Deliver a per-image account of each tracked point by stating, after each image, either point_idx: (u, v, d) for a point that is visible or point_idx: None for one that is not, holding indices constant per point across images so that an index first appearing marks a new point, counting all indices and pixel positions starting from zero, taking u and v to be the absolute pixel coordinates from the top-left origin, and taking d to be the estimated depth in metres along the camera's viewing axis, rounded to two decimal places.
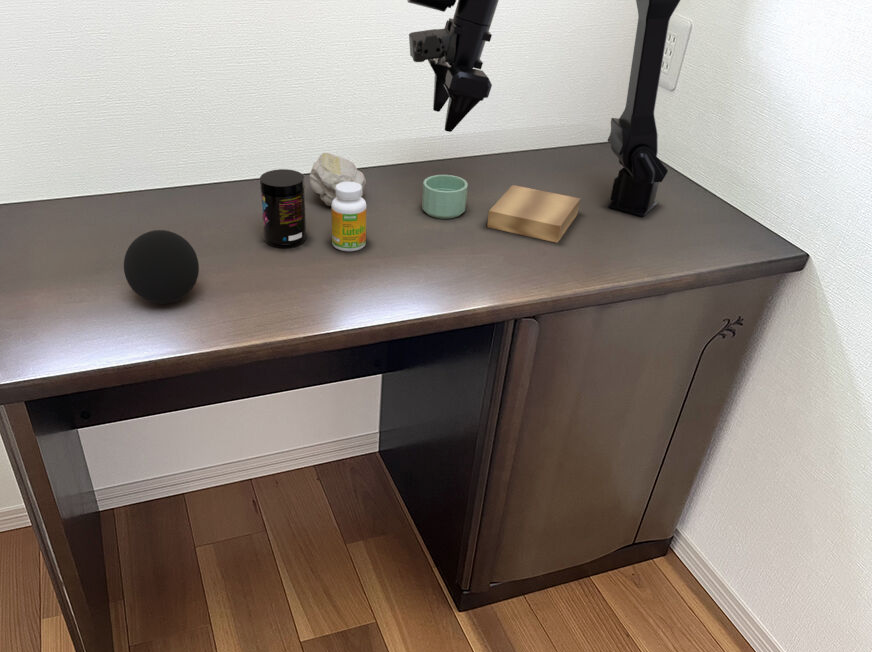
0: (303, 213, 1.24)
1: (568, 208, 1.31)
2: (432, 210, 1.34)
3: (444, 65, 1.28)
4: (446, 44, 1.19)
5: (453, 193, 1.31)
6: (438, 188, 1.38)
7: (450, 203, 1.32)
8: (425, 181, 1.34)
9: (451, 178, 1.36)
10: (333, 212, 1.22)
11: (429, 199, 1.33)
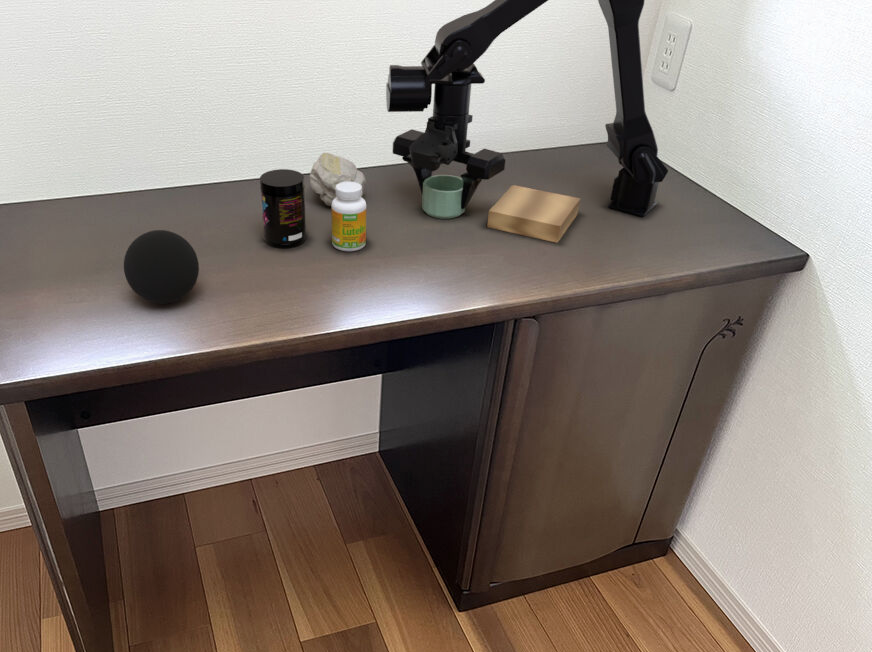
0: (303, 213, 1.24)
1: (568, 208, 1.31)
2: (432, 210, 1.34)
3: None
4: None
5: (453, 193, 1.31)
6: (438, 188, 1.38)
7: (450, 203, 1.32)
8: (425, 181, 1.34)
9: (451, 178, 1.36)
10: (333, 212, 1.22)
11: (429, 199, 1.33)
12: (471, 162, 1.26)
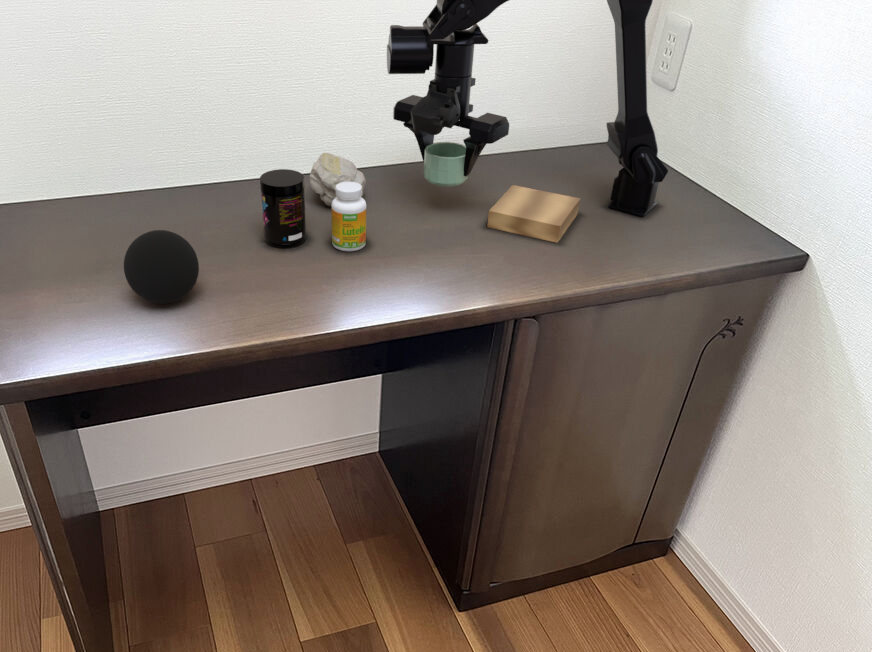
0: (303, 213, 1.24)
1: (568, 208, 1.31)
2: (434, 177, 1.30)
3: None
4: None
5: (455, 159, 1.28)
6: (440, 156, 1.34)
7: (452, 170, 1.29)
8: (427, 148, 1.31)
9: (454, 145, 1.33)
10: (333, 212, 1.22)
11: (431, 166, 1.30)
12: (474, 126, 1.22)
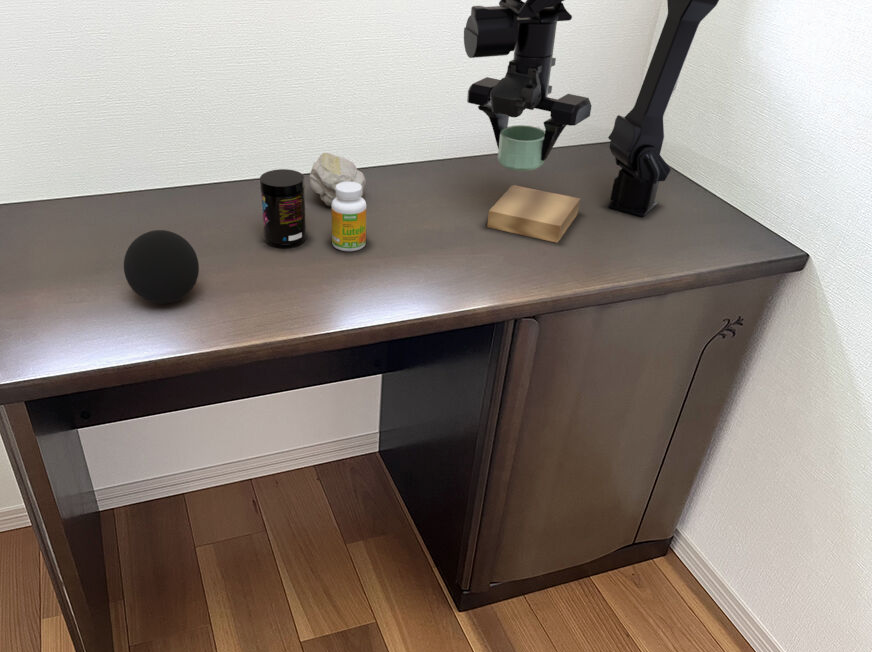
0: (303, 213, 1.24)
1: (568, 208, 1.31)
2: (510, 162, 1.26)
3: None
4: None
5: (534, 143, 1.23)
6: (514, 140, 1.30)
7: (530, 154, 1.24)
8: (502, 131, 1.27)
9: (529, 128, 1.29)
10: (333, 212, 1.22)
11: (507, 150, 1.25)
12: (556, 107, 1.18)
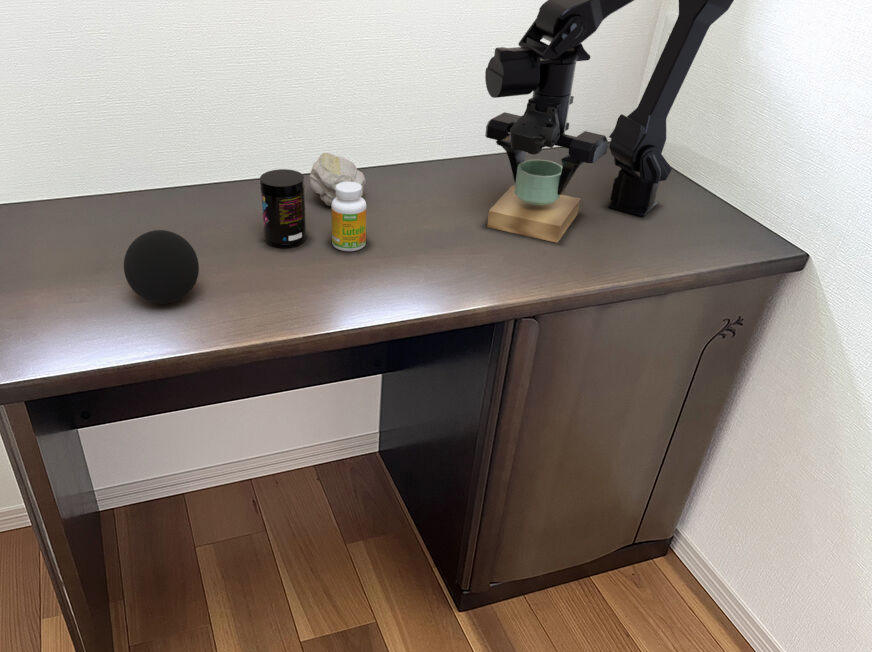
0: (303, 213, 1.24)
1: (568, 208, 1.31)
2: (527, 196, 1.28)
3: None
4: None
5: (551, 178, 1.26)
6: (531, 173, 1.32)
7: (547, 188, 1.27)
8: (519, 166, 1.29)
9: (545, 163, 1.31)
10: (333, 212, 1.22)
11: (525, 184, 1.28)
12: (574, 145, 1.20)
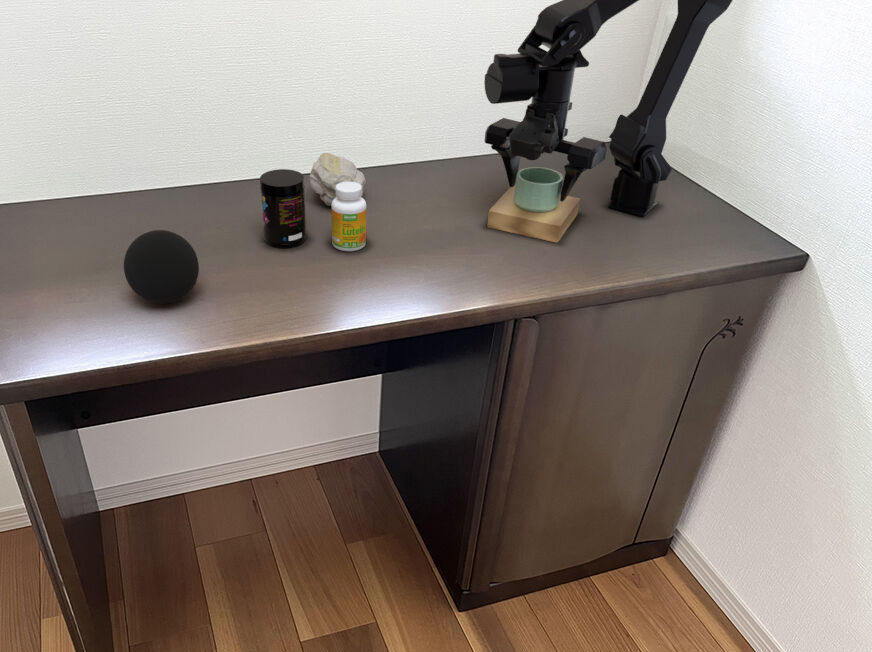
0: (303, 213, 1.24)
1: (568, 208, 1.31)
2: (526, 203, 1.29)
3: None
4: None
5: (550, 186, 1.27)
6: (530, 181, 1.33)
7: (546, 196, 1.28)
8: (518, 173, 1.30)
9: (544, 170, 1.32)
10: (333, 212, 1.22)
11: (524, 192, 1.28)
12: (573, 151, 1.21)
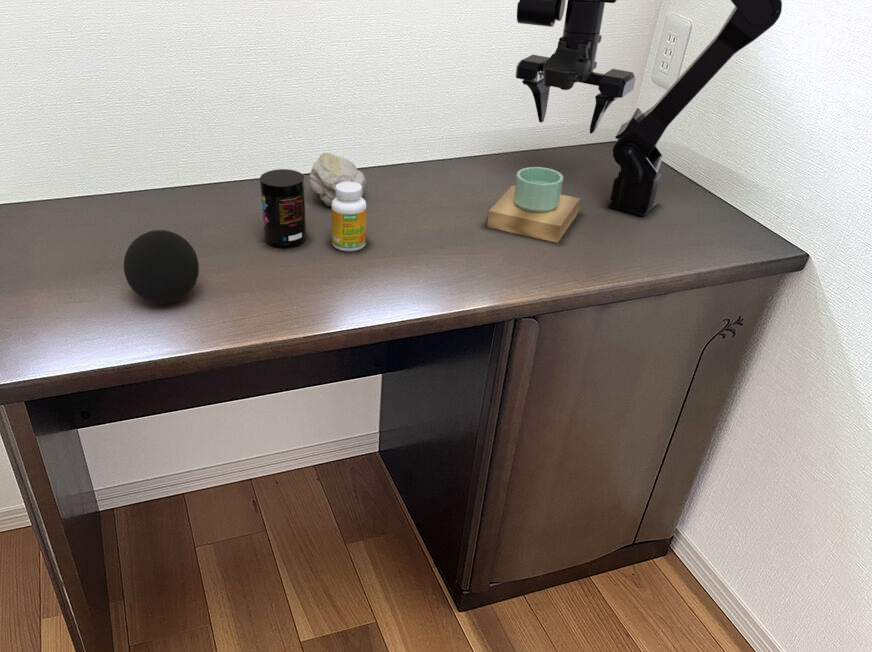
0: (303, 213, 1.24)
1: (568, 208, 1.31)
2: (526, 203, 1.29)
3: (541, 80, 1.34)
4: None
5: (550, 186, 1.27)
6: (530, 181, 1.33)
7: (546, 196, 1.28)
8: (518, 173, 1.30)
9: (544, 170, 1.32)
10: (333, 212, 1.22)
11: (524, 192, 1.28)
12: (604, 80, 1.26)
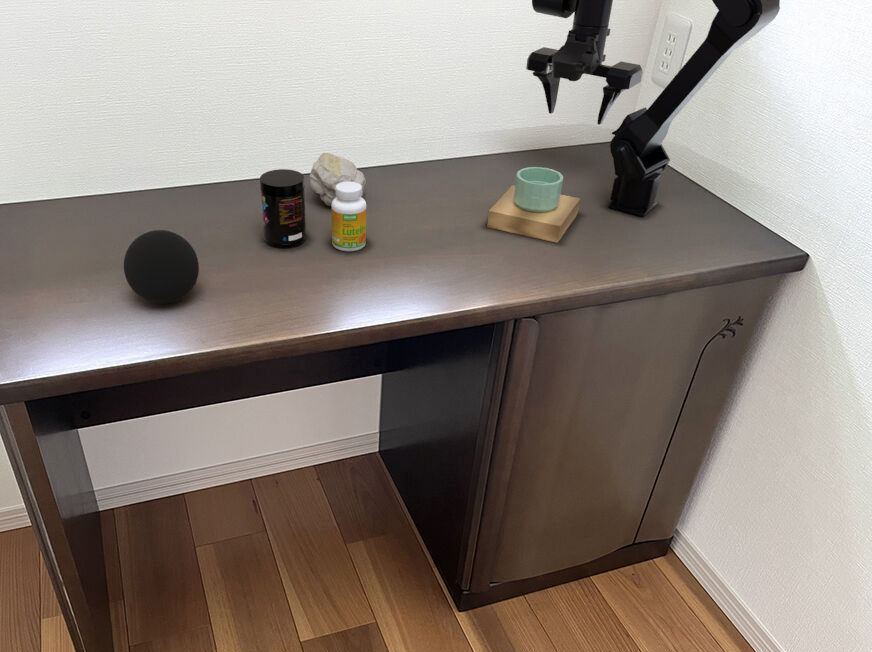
0: (303, 213, 1.24)
1: (568, 208, 1.31)
2: (526, 203, 1.29)
3: (551, 71, 1.38)
4: None
5: (550, 186, 1.27)
6: (530, 181, 1.33)
7: (546, 196, 1.28)
8: (518, 173, 1.30)
9: (544, 170, 1.32)
10: (333, 212, 1.22)
11: (524, 192, 1.28)
12: (611, 72, 1.29)
